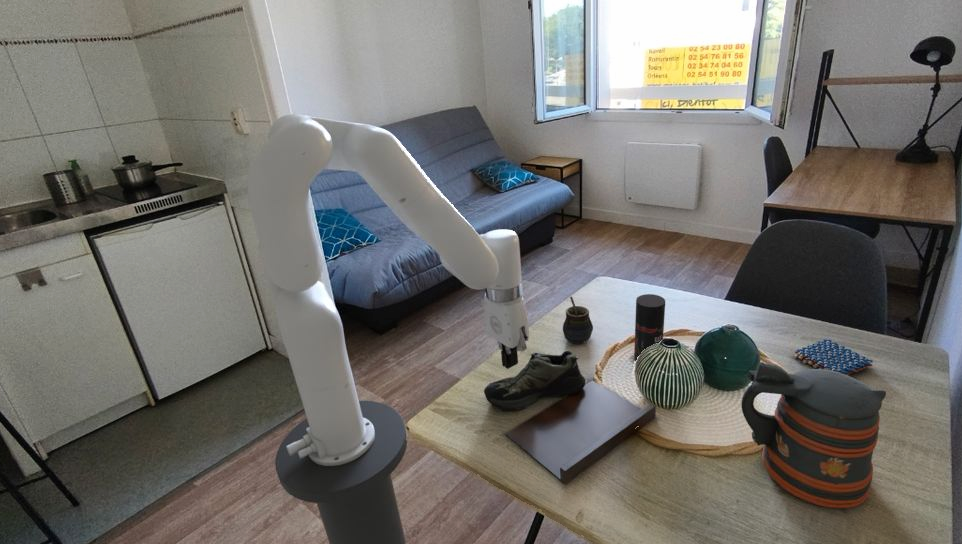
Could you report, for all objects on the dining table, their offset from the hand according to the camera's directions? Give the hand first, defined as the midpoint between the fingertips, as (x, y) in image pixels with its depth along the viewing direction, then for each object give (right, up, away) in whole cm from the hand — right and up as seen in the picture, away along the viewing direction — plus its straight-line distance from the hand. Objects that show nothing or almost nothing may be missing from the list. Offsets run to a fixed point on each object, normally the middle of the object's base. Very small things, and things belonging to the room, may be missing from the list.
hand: (510, 364), depth 110 cm
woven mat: (+68, +1, -3) cm, 68 cm away
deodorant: (+31, 0, +4) cm, 32 cm away
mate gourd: (+17, +4, +14) cm, 22 cm away
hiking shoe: (+5, -6, -4) cm, 9 cm away
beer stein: (+46, -12, -28) cm, 55 cm away
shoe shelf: (+13, -9, -14) cm, 21 cm away
